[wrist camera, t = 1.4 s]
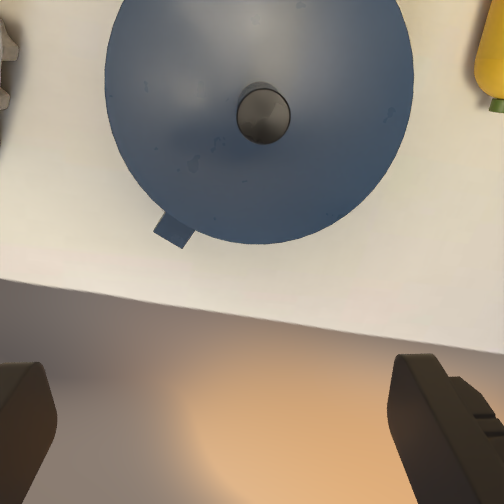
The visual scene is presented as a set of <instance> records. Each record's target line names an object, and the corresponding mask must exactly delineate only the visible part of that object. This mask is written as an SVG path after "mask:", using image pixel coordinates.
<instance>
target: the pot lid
mask: <svg viewBox="0 0 504 504" xmlns="http://www.w3.org/2000/svg"><path fill="white" fill-rule="evenodd" d="M413 84H414V70H413V56H412V50H411V45H410V40H409V35H408V31H407V28H406V25H405V22H404V19H403V16H402V13H401V11H400V8H399V6H398V4H397V2H396V0H124V1H123V3H122V5H121V7H120V10H119V12H118V15H117V17H116V20H115V22H114V24H113V28H112V32H111V36H110V39H109V43H108V47H107V55H106V63H105V98H106V107H107V114H108V118H109V122H110V126H111V130H112V134H113V136H114V139H115V141H116V144H117V147H118V149H119V152H120V154H121V156H122V158H123V160H124V161H125V163H126V165H127V167H128V169H129V171H130V172H131V174H132V175H133V176H134V178H135V179H136V181H137V182H138V184H139V185H140V186H141V188H142V189H143V190H144V191H145V192H146V193H147V194H148V195H149V197H150V198H151V199H152V200H153V201H154V202H155V203H156V204H158V205H159V206H160V207H161V208H162V209H163V210H164V211H165V212H167V213H168V214H169V215H171V216H172V217H174V218H175V219H177V220H178V221H179V222H181V223H183V224H185V225H186V226H188V227H190V228H192V229H194V230H196V231H198V232H200V233H203V234H206V235H208V236H211V237H213V238H217V239H221V240H225V241H229V242H235V243H243V244H272V243H282V242H286V241H290V240H295V239H299V238H302V237H305V236H307V235H310V234H313V233H316V232H318V231H320V230H322V229H324V228H326V227H328V226H330V225H332V224H333V223H335V222H336V221H338V220H339V219H341V218H342V217H344V216H345V215H347V214H348V213H349V212H351V211H352V210H353V209H354V208H355V207H356V206H358V205H359V204H360V203H361V202H362V201H363V200H364V199H365V198H366V197H367V196H368V195H369V194H370V193H371V192H372V191H373V189H374V188H375V187H376V186H377V184H378V183H379V182H380V180H381V179H382V177H383V176H384V175H385V173H386V172H387V170H388V168H389V167H390V165H391V163H392V161H393V160H394V158H395V156H396V154H397V151H398V149H399V147H400V144H401V142H402V140H403V137H404V134H405V131H406V127H407V124H408V121H409V117H410V111H411V105H412V99H413Z"/></svg>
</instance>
